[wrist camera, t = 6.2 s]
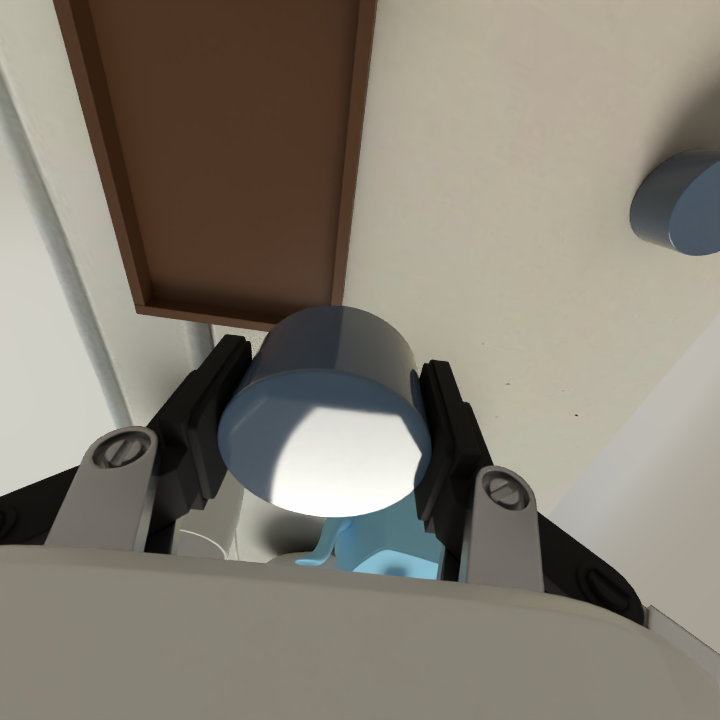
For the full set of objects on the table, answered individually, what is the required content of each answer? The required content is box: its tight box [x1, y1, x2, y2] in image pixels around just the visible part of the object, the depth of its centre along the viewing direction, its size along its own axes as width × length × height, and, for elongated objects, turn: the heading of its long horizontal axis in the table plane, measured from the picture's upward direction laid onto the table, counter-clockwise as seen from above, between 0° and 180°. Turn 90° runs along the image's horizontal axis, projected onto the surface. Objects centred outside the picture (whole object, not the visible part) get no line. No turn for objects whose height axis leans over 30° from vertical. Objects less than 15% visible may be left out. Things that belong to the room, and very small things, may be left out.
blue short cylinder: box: [217, 305, 433, 517], centre depth 10 cm, size 6×6×4 cm
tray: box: [53, 0, 378, 332], centre depth 20 cm, size 22×16×2 cm
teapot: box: [295, 491, 442, 580], centre depth 35 cm, size 12×18×12 cm
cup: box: [177, 470, 245, 560], centre depth 34 cm, size 8×8×10 cm
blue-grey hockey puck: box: [630, 148, 720, 256], centre depth 20 cm, size 6×6×4 cm
